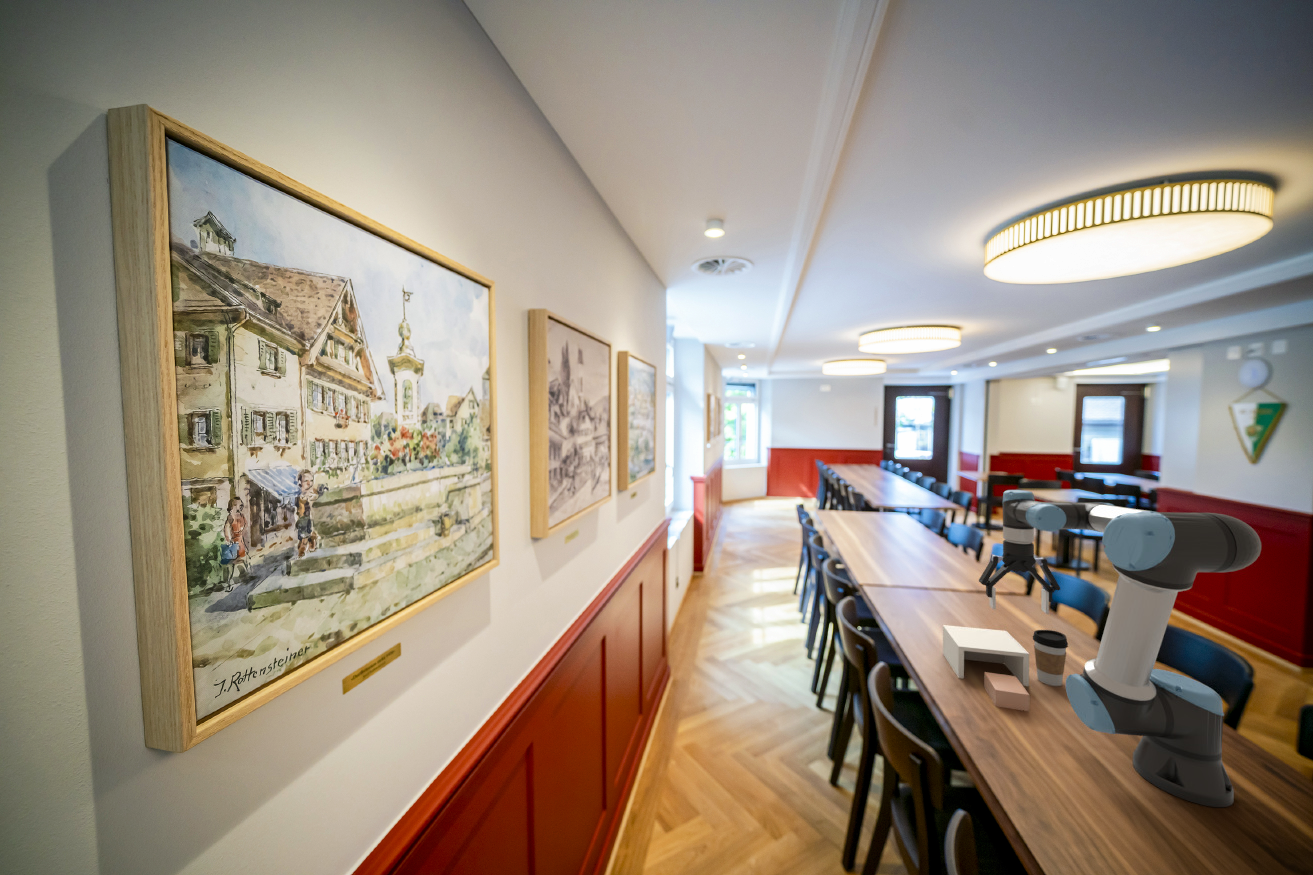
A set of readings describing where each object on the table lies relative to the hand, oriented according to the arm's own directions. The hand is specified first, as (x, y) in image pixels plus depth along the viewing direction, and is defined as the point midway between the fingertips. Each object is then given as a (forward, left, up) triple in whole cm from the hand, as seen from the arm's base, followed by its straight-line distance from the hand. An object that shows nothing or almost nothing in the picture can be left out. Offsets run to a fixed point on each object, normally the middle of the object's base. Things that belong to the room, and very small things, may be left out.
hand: (1018, 609), depth 143 cm
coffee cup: (+5, -10, -24) cm, 26 cm away
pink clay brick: (-9, +7, -24) cm, 26 cm away
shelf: (+8, +7, -24) cm, 26 cm away
